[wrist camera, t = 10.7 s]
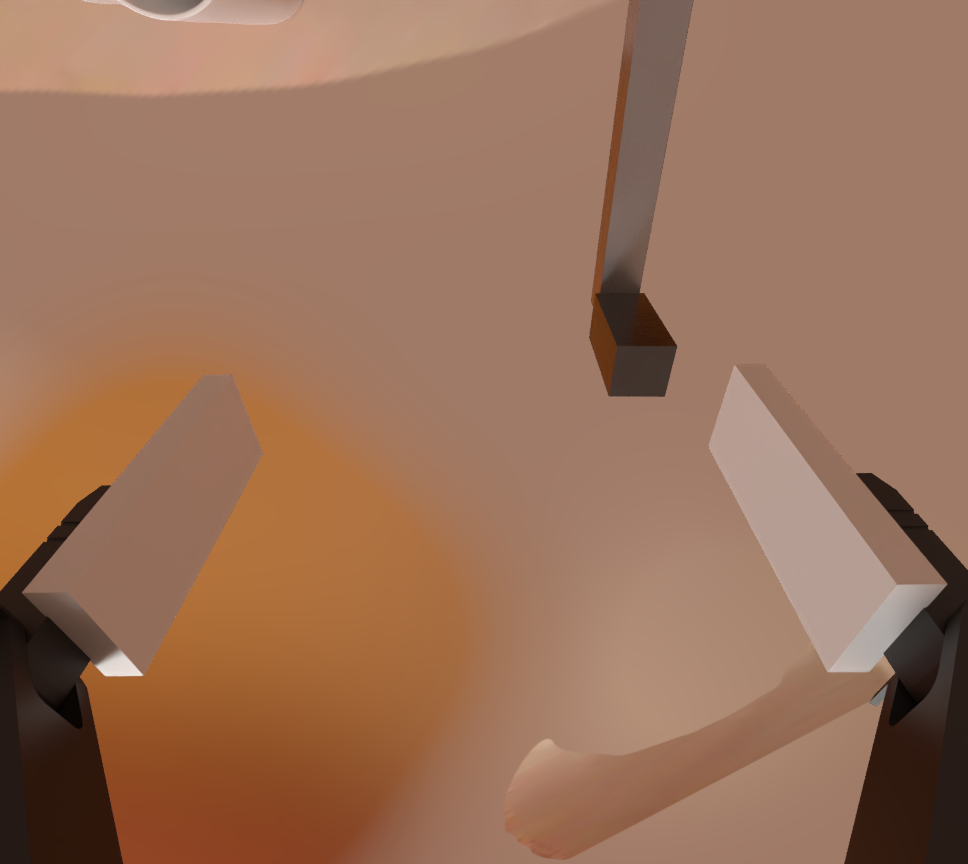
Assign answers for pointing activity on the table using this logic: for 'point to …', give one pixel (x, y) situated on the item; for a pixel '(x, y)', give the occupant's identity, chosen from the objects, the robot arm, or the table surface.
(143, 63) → the table surface
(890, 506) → the robot arm
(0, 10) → the table surface
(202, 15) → the mug
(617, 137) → the grey l-shaped bar
